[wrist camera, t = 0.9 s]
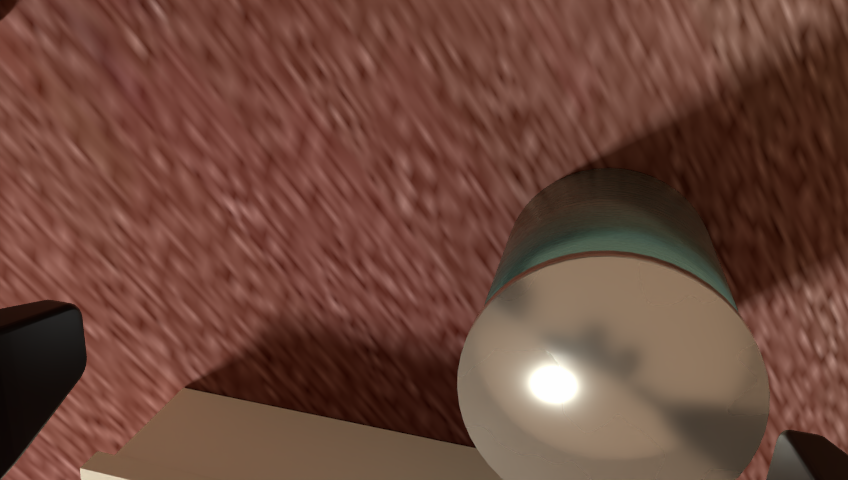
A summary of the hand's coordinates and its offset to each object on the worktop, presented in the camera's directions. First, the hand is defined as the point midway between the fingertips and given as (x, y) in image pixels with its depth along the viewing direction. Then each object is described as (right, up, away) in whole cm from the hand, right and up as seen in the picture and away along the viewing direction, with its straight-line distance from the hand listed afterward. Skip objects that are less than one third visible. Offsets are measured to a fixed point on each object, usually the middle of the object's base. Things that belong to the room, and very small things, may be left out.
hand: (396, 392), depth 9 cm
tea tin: (+5, +1, +11) cm, 13 cm away
